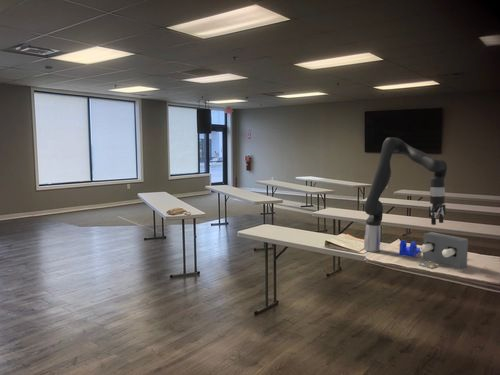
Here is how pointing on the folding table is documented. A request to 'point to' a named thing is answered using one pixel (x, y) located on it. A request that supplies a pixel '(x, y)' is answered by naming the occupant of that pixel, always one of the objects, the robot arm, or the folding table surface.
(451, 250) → the near button
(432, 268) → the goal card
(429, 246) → the far button
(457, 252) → the grey button panel
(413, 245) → the bracket
